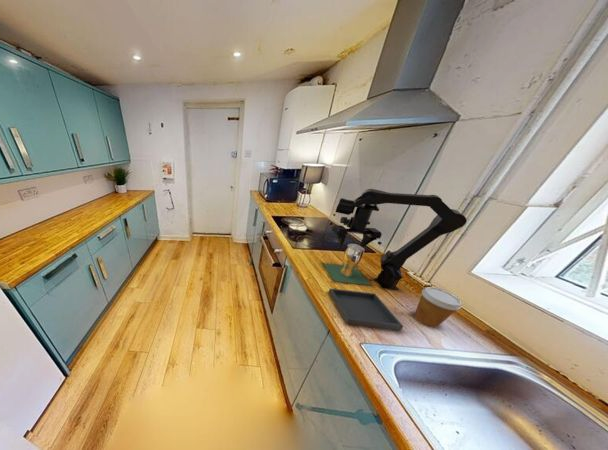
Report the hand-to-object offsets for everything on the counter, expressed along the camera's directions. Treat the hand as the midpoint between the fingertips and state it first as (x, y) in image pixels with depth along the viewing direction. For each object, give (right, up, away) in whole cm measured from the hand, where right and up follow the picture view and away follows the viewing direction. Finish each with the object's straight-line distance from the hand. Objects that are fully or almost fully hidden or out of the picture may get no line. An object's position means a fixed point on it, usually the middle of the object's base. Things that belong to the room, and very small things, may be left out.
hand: (349, 247), depth 95 cm
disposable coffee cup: (+13, -25, -21) cm, 35 cm away
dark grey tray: (-9, -22, -18) cm, 30 cm away
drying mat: (-1, -13, +2) cm, 14 cm away
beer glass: (-1, -13, +2) cm, 13 cm away
